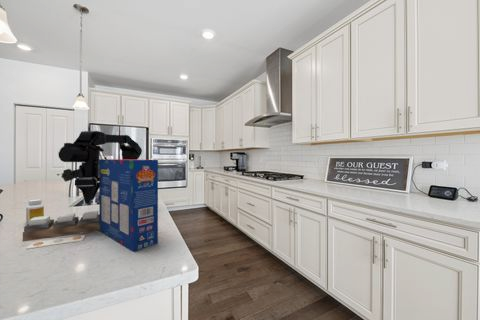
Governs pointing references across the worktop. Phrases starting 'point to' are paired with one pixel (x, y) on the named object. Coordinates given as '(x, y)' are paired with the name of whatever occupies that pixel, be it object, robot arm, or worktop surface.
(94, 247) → the worktop surface
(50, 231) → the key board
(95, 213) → the key
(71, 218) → the key middle
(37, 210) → the supplement bottle
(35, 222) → the key
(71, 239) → the pattern card
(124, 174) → the blue cardboard box
